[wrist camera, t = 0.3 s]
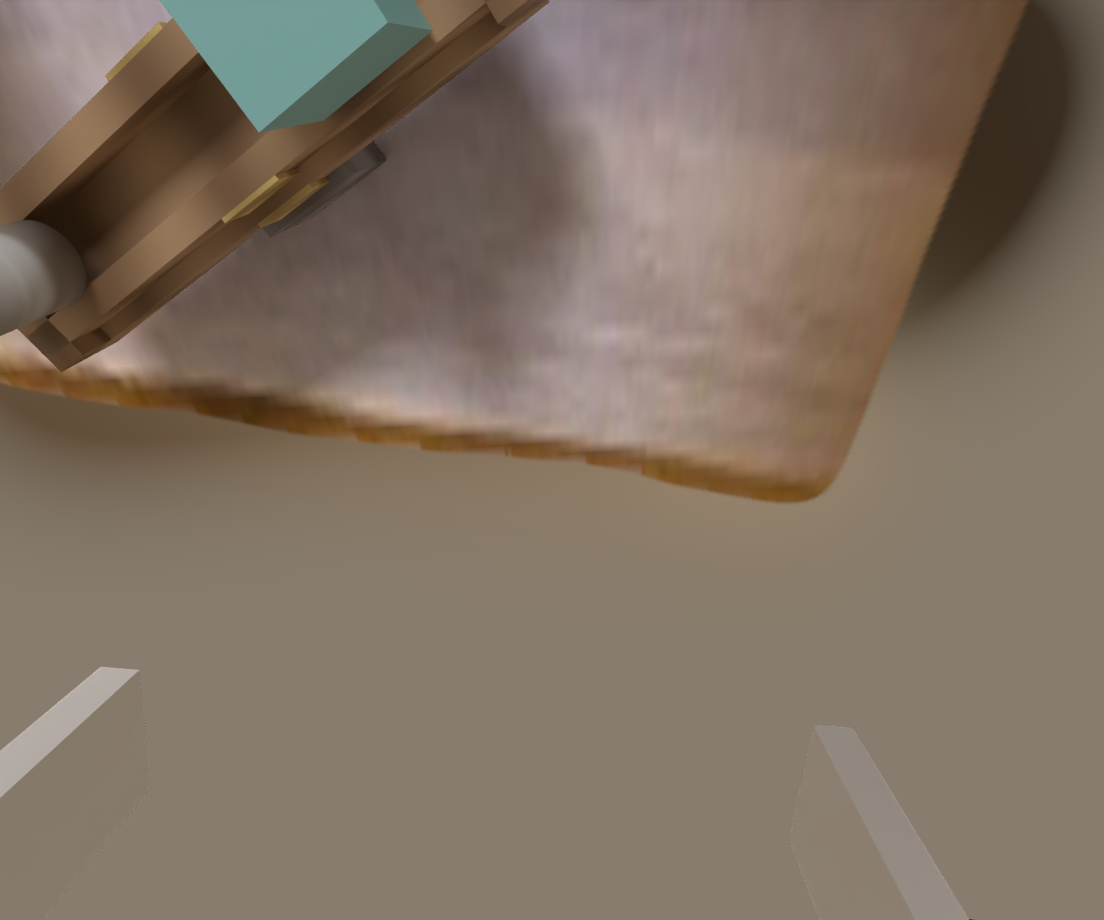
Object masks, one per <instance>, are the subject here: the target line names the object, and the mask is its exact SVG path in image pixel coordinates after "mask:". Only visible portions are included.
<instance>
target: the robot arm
mask: <svg viewBox="0 0 1104 920" xmlns="http://www.w3.org/2000/svg"><path fill="white" fill-rule="evenodd" d="M151 788H152V785H151V776H150V766H149V756H148V747H147V739H146V729H145V720H144V710H143V700H142V691H141V681H140V672H139V670H133V669H120V668H107V667H100V668H99V669H97V671H95V672H94V673H93V674H91V675H90V676H89V677H88V678H87V679H85V680H84V681H83V682H82V683H81V684H80V685H78V686H77V687H76V688H75V689H74V690H72V691H71V692H70V693H69V694H68V695H66V696H65V697H64V698H63V699H62V700H60V701H59V702H58V703H57V704H56V705H54V706H53V707H52V708H51V709H50V710H48V711H47V712H46V713H45V714H44V715H42V716H41V717H40V718H39V719H38V720H37V721H35V722H34V723H33V724H32V725H31V726H29V727H28V728H27V729H26V730H25V731H23V732H22V733H21V734H20V735H19V736H17V737H16V738H15V739H14V740H13V741H12V742H10V743H9V744H8V745H7V746H5V747H4V748H3V749H2V750H1V751H0V920H44V919H45V917H46V916H47V915H48V914H49V912H50V911H51V910H52V909H53V908H54V906H55V905H56V904H57V903H58V901H59V900H60V899H61V898H62V897H63V895H64V894H65V893H66V892H67V890H68V889H69V888H70V887H71V886H72V884H73V883H74V882H75V881H76V879H77V878H78V877H79V876H80V874H81V873H82V872H83V871H84V870H85V868H86V867H87V866H88V865H89V864H90V862H91V861H92V860H93V859H94V857H95V856H96V855H97V854H98V853H99V851H100V850H101V849H102V848H103V846H104V845H105V844H106V843H107V841H108V840H109V839H110V838H111V837H112V835H113V834H114V833H115V832H116V831H117V829H118V828H119V827H120V826H121V824H122V823H123V822H124V821H125V819H126V818H127V817H128V816H129V815H130V813H131V812H132V811H133V809H135V807H136V806H137V805H138V804H139V802H140V801H141V800H142V799H143V798H144V796H145V795H146V794H147V793H148V791H149V790H150V789H151ZM789 841H790V843H791V846H792V848H793V851H794V854H795V856H796V859H797V862H798V864H799V867H800V870H801V872H802V875H803V878H804V880H805V883H806V886H807V888H808V891H809V894H810V896H811V899H812V902H813V904H814V907H815V910H816V912H817V915H818V918H819V920H971V919H968V917H967V915H966V914H965V912H964V911H963V909H962V907H961V906H960V904H959V902H958V901H957V899H956V897H955V896H954V894H953V893H952V891H951V889H950V888H949V886H948V884H947V883H946V881H945V879H944V878H943V876H942V874H941V873H940V871H939V869H938V868H937V866H936V864H935V863H934V861H933V859H932V858H931V856H930V855H929V853H928V851H927V850H926V848H925V846H924V845H923V843H922V841H921V840H920V838H919V836H918V835H917V833H916V832H915V830H914V828H913V826H912V825H911V823H910V821H909V820H908V818H907V817H906V815H905V813H904V812H903V810H902V808H901V807H900V805H899V803H898V802H897V800H896V799H895V797H894V795H893V794H892V792H891V790H890V789H889V787H888V785H887V784H886V782H885V780H884V779H883V777H882V775H881V774H880V772H879V770H878V769H877V767H876V766H875V764H874V762H873V760H872V759H871V757H870V756H869V754H868V752H867V751H866V749H865V747H864V746H863V744H862V743H861V741H860V739H859V737H858V736H857V734H856V733H855V731H854V729H853V728H852V727H840V726H828V725H814V724H813V726H812V730H811V736H810V741H809V746H808V750H807V755H806V760H805V765H804V770H803V775H802V780H801V785H800V790H799V795H798V800H797V805H796V810H795V814H794V820H793V824H792V830H791V834H790V839H789Z"/></svg>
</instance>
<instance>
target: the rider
mask: <svg viewBox="0 0 1104 920" xmlns="http://www.w3.org/2000/svg"><path fill="white" fill-rule="evenodd" d="M160 1H161V3H162V4H163V5H164V7H165V8H166V9H167V11H168V12H169V13H170V15H171V16H172V17H173V19H174V20H175V21H176V23H177V24H178V25H179V27H180V28H181V29H182V31H183V32H184V33H185V35H186V36H187V37H188V39H189V40H190V41H191V43H192V44H193V45H194V47H195V48H196V49H197V51H198V52H199V53H200V55H201V56H202V57H203V59H204V60H205V61H206V63H207V64H208V65H209V67H210V68H211V69H212V71H213V72H214V73H215V75H216V76H217V77H218V79H219V80H220V81H221V83H222V84H223V85H224V87H225V88H226V89H227V91H228V92H229V93H230V95H231V96H232V97H233V99H234V100H235V101H236V103H237V104H238V105H239V107H240V108H241V109H242V111H243V112H244V113H245V115H246V116H247V117H248V119H249V120H250V121H251V123H252V124H253V125H254V127H255V128H256V129H257V131H258V132H259V133H260V132H265V131H270V130H276V129H281V128H287V127H292V126H297V125H303V124H308V123H314V122H319V121H324V120H325V119H326V118H327V117H329V116H330V115H331V114H332V113H334V112H335V111H336V110H337V109H338V108H340V107H341V106H342V105H343V104H344V103H346V102H347V101H348V100H349V99H350V98H352V97H353V96H354V95H355V94H357V93H358V92H359V91H360V90H361V89H363V88H364V87H365V86H366V85H367V84H369V83H370V82H371V81H372V80H373V79H375V78H376V77H377V76H378V75H380V74H381V73H382V72H383V71H384V70H386V69H387V68H388V67H389V66H390V65H392V64H393V63H394V62H395V61H396V60H398V59H399V58H400V57H401V56H403V55H404V54H405V53H406V52H407V51H409V50H410V49H411V48H412V47H413V46H415V45H416V44H417V43H418V42H419V41H421V40H422V39H423V38H424V37H426V36H427V35H428V34H429V33H430V32H432V31H433V30H432V28H431V27H430V25H429V23H428V22H427V20H426V18H425V17H424V15H423V14H422V12H421V10H420V9H419V7H418V5H417V4H416V2H415V0H160Z"/></svg>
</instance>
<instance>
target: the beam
mask: <svg viewBox="0 0 1104 920" xmlns="http://www.w3.org/2000/svg"><path fill="white" fill-rule="evenodd" d="M415 2H416V4H417V5H418V7H419V9H420V10H421V12H422V14H423V15H424V17H425V18H426V20H427V22H428V23H429V25H430V27H431V28H432V30H433V31H432V32H430V33H429V34H428V35H427V36H426V37H424V38H423V39H422V40H421V41H419V42H418V43H417V44H416V45H415V46H413V47H412V48H411V49H410V50H409V51H407V52H406V53H405V54H404V55H403V56H401V57H400V58H399V59H398V60H396V61H395V62H394V63H393V64H392V65H390V66H389V67H388V68H387V69H386V70H384V71H383V72H382V73H381V74H380V75H378V76H377V77H376V78H375V79H373V80H372V81H371V82H370V83H369V84H367V85H366V86H365V87H364V88H363V89H361V90H360V91H359V92H358V93H357V94H355V95H354V96H353V97H352V98H350V99H349V100H348V101H347V102H346V103H344V104H343V105H342V106H341V107H340V108H338V109H337V110H336V111H335V112H334V113H332V114H331V115H330V116H329V117H327V118H326V119H325V120H324V121H319V122H314V123H308V124H303V125H297V126H292V127H287V128H281V129H276V130H270V131H265V132H260V133H259V132H258V131H257V129H256V128H255V127H254V125H253V124H252V123H251V121H250V120H249V119H248V117H247V116H246V115H245V113H244V112H243V111H242V109H241V108H240V107H239V105H238V104H237V103H236V101H235V100H234V99H233V97H232V96H231V95H230V93H229V92H228V91H227V89H226V88H225V87H224V85H223V84H222V83H221V81H220V80H219V79H218V77H217V76H216V75H215V73H214V72H213V71H212V69H211V68H210V67H209V65H208V64H207V63H206V61H205V60H204V59H203V57H202V56H201V55H200V53H199V52H198V51H197V49H196V48H195V47H194V45H193V44H192V43H191V41H190V40H189V39H188V37H187V36H186V35H185V33H184V32H183V31H182V29H181V28H180V27H179V25H178V24H177V23H176V21H175V20H174V19H173V18H172V19H171V20H170V21H169V22H168V23H162V22H158V23H157V24H156V25H155V26H154V27H153V28H152V29H151V30H150V31H149V32H148V33H147V34H146V35H145V36H144V37H143V38H142V39H141V40H140V41H139V42H138V43H137V44H136V45H135V46H134V47H133V48H132V49H131V50H130V51H129V52H128V53H127V54H126V55H125V56H124V57H123V58H122V59H121V60H120V61H119V62H118V63H117V64H116V65H115V66H114V67H113V68H112V69H111V70H110V71H109V72H108V73H107V74H106V75H105V77H106V78H107V79H108V80H109V82H108V83H107V84H106V85H105V86H104V87H103V88H102V89H101V90H100V91H99V92H98V93H97V94H96V95H95V96H94V97H93V98H92V99H91V100H90V101H89V102H88V103H87V104H86V105H85V106H84V107H83V108H82V109H81V110H80V111H79V112H78V113H77V114H76V115H75V116H74V117H73V118H72V119H71V120H70V121H69V122H68V123H67V124H66V125H65V126H64V127H63V128H62V129H61V130H60V131H59V132H58V133H57V134H56V135H55V136H54V137H53V138H52V139H51V140H50V141H49V142H48V143H47V144H46V145H45V146H44V147H43V148H42V149H41V150H40V151H39V152H38V153H37V154H36V155H35V156H34V157H33V158H32V159H31V160H30V161H29V162H28V163H27V164H26V165H25V166H24V167H23V168H22V169H21V170H20V171H19V172H18V173H17V174H16V175H15V176H14V177H13V178H12V179H11V180H10V181H9V182H8V183H7V184H6V185H5V186H4V187H3V188H2V189H1V190H0V336H1V335H3V334H6V333H8V332H10V331H13V330H15V329H18V330H19V331H20V332H21V333H22V334H23V335H24V336H25V337H26V338H27V339H28V340H29V341H30V342H32V343H33V344H34V345H35V346H36V347H37V348H38V349H39V350H40V351H41V352H42V353H43V354H44V355H45V356H46V357H47V358H48V359H49V360H50V361H51V362H52V363H53V364H54V365H55V366H56V367H57V368H58V369H59V370H60V371H61V372H62V371H64V370H66V369H68V368H70V367H72V366H73V365H75V364H77V363H79V362H81V361H83V360H84V359H86V358H88V357H90V356H92V355H94V354H95V353H97V352H99V351H101V350H103V349H105V348H106V347H108V346H110V345H112V344H114V343H116V342H117V341H119V340H120V339H121V338H123V337H124V336H125V335H126V334H128V333H129V332H130V331H132V330H133V329H134V328H135V327H137V326H138V325H139V324H140V323H142V322H143V321H144V320H146V319H147V318H148V317H149V316H151V315H152V314H153V313H154V312H156V311H157V310H158V309H160V308H161V307H162V306H163V305H165V304H166V303H167V302H168V301H170V300H171V299H172V298H174V297H175V296H176V295H177V294H179V293H180V292H181V291H182V290H184V289H185V288H186V287H188V286H189V285H190V284H191V283H193V282H194V281H195V280H196V279H198V278H199V277H200V276H202V275H203V274H204V273H205V272H207V271H208V270H209V269H210V268H212V267H213V266H214V265H216V264H217V263H218V262H219V261H221V260H222V259H223V258H224V257H226V256H227V255H228V254H230V253H231V252H232V251H233V250H235V249H236V248H237V247H238V246H240V245H241V244H242V243H244V242H245V241H246V240H247V239H249V238H250V237H251V236H252V235H254V234H255V233H256V232H258V231H259V230H260V229H261V228H263V229H264V230H265V231H266V232H267V234H268V235H269V236H270V237H272V236H274V235H276V234H278V233H280V232H282V231H284V230H286V229H288V228H290V227H292V226H294V225H296V224H298V223H301V222H303V221H305V220H307V219H309V218H311V217H313V216H314V215H316V214H317V213H318V212H320V211H321V210H322V209H324V208H325V207H326V206H327V205H329V204H330V203H331V202H333V201H334V200H335V199H337V198H338V197H339V196H340V195H342V194H343V193H344V192H346V191H347V190H348V189H350V188H351V187H352V186H354V185H355V184H356V183H357V182H359V181H360V180H361V179H363V178H364V177H365V176H367V175H368V174H369V173H370V172H372V171H373V170H374V169H376V168H377V167H378V166H380V165H381V164H382V163H384V162H385V161H386V159H385V157H384V156H383V154H382V153H381V152H380V150H379V149H378V147H377V146H376V144H375V143H374V141H373V140H375V139H376V138H377V137H378V136H380V135H381V134H382V133H384V132H385V131H386V130H387V129H389V128H390V127H391V126H392V125H394V124H395V123H396V122H397V121H399V120H400V119H401V118H403V117H404V116H405V115H406V114H408V113H409V112H410V111H411V110H413V109H414V108H415V107H417V106H418V105H419V104H420V103H422V102H423V101H424V100H425V99H427V98H428V97H429V96H431V95H432V94H433V93H434V92H436V91H437V90H438V89H439V88H441V87H442V86H443V85H445V84H446V83H447V82H448V81H450V80H451V79H452V78H453V77H455V76H456V75H457V74H459V73H460V72H461V71H462V70H464V69H465V68H466V67H467V66H469V65H470V64H471V63H473V62H474V61H475V60H476V59H478V58H479V57H480V56H481V55H483V54H484V53H485V52H487V51H488V50H489V49H490V48H492V47H493V46H494V45H495V44H497V43H498V42H499V41H501V40H502V39H503V38H504V37H506V36H507V35H508V34H509V33H511V32H512V31H513V30H515V29H516V28H517V27H518V26H520V25H521V24H522V23H523V22H525V21H526V20H527V19H529V18H530V17H531V16H532V15H534V14H535V13H536V12H537V11H539V10H540V9H541V8H543V7H544V6H545V5H546V4H548V3H549V0H415Z"/></svg>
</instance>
